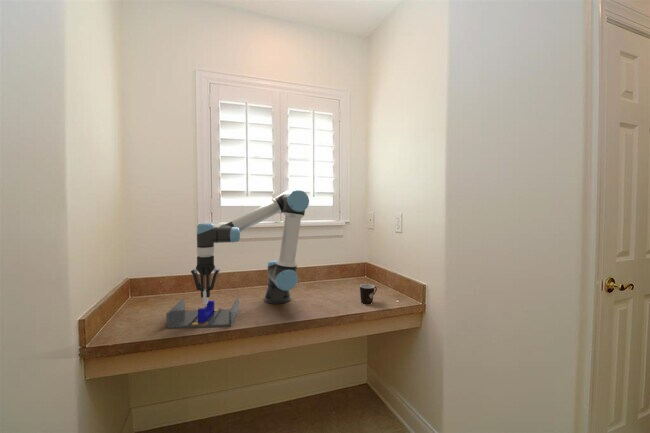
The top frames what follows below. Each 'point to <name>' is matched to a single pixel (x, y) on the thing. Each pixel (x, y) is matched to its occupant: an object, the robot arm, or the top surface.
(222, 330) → the top surface
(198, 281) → the robot arm
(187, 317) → the desk rack
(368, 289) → the coffee mug
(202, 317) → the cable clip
